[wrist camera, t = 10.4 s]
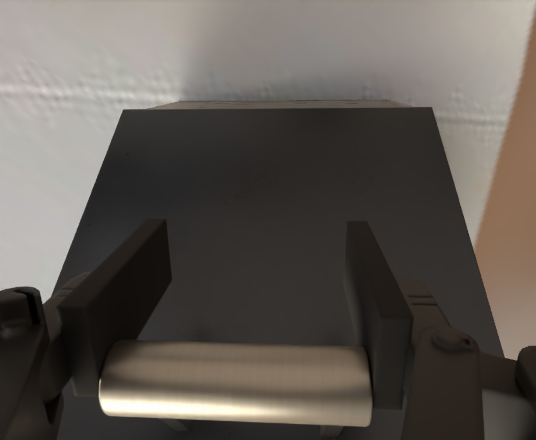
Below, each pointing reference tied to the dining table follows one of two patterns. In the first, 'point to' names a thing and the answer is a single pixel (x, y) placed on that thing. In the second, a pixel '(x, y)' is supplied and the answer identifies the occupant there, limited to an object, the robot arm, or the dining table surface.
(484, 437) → the robot arm
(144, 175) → the grey box lid
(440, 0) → the dining table surface
